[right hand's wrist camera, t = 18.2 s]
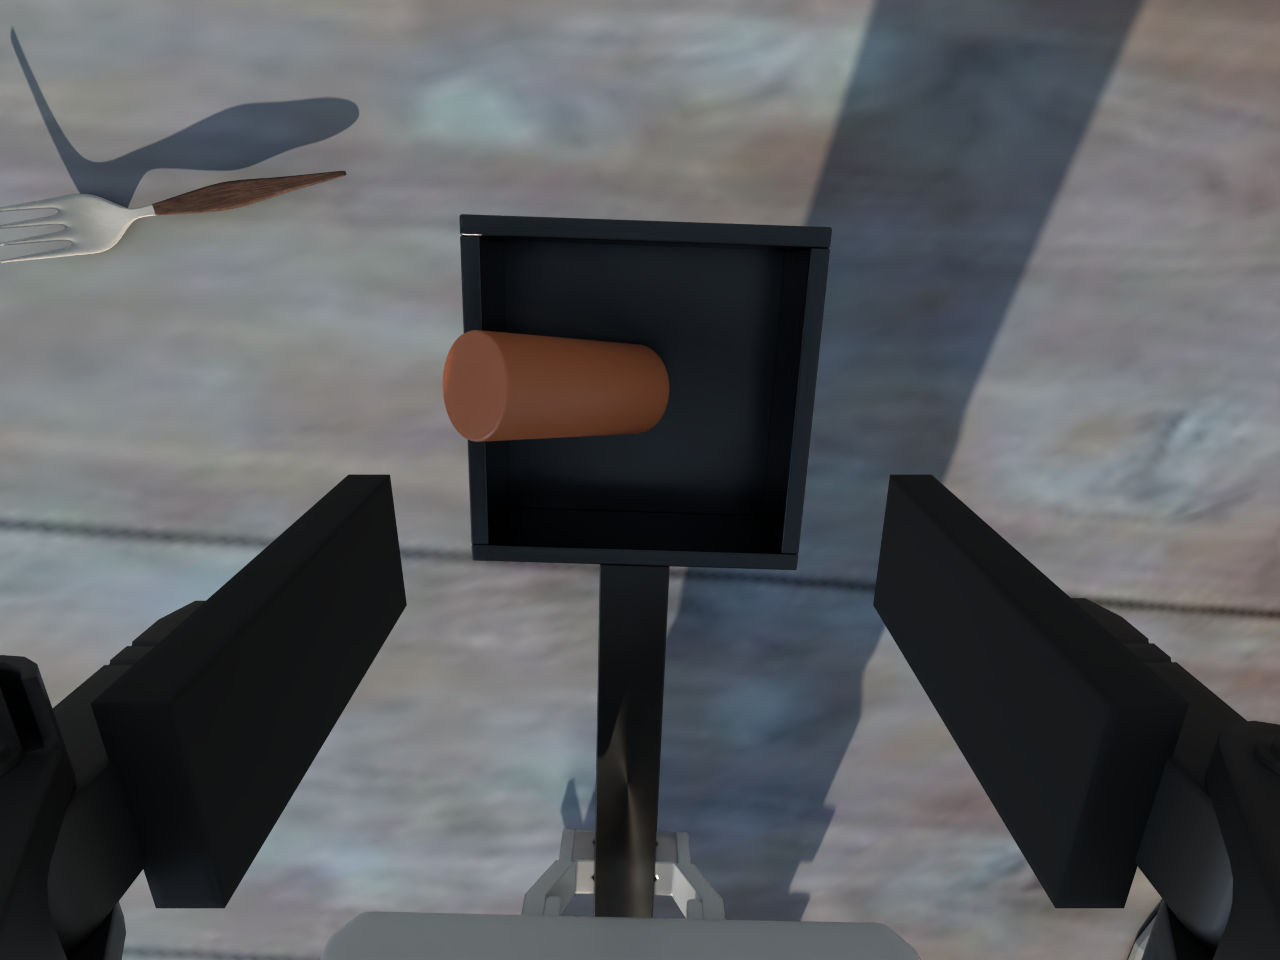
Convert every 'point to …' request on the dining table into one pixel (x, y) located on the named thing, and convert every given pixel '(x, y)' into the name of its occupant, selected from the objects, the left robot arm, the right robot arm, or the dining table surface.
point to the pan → (650, 453)
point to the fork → (142, 211)
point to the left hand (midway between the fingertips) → (625, 841)
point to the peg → (551, 387)
